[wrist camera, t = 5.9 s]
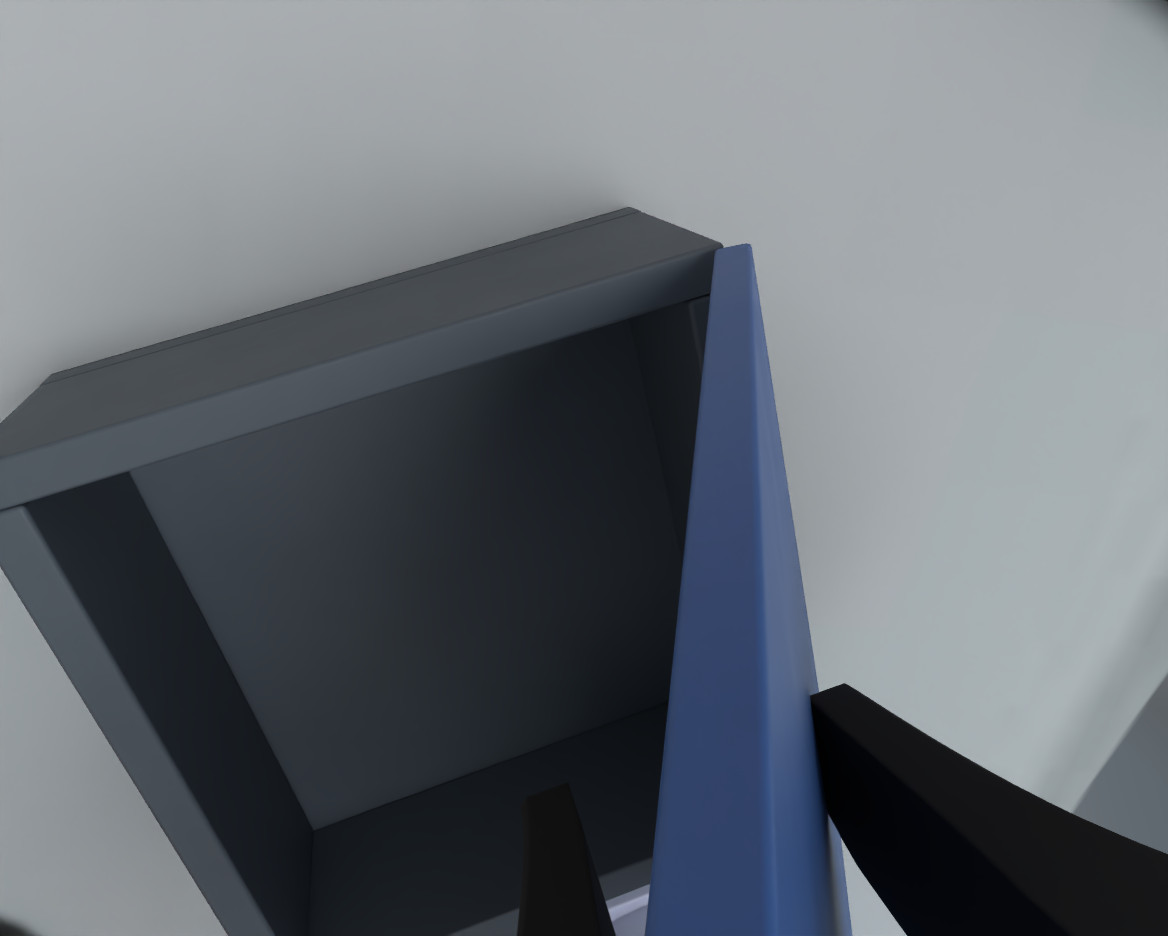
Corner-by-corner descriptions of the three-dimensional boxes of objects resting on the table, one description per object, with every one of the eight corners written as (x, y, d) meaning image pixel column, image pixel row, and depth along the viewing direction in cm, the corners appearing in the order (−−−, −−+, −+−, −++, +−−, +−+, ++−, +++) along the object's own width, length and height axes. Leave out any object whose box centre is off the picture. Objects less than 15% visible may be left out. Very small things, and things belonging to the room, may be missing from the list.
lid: (910, 1965, 9) (976, 1984, 8) (599, 1311, 3) (791, 1332, 3) (812, 830, 20) (840, 830, 20) (713, 248, 14) (750, 241, 14)
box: (296, 839, 24) (283, 1028, 19) (50, 374, 18) (-60, 476, 13) (729, 681, 25) (819, 819, 21) (631, 206, 20) (723, 242, 15)
